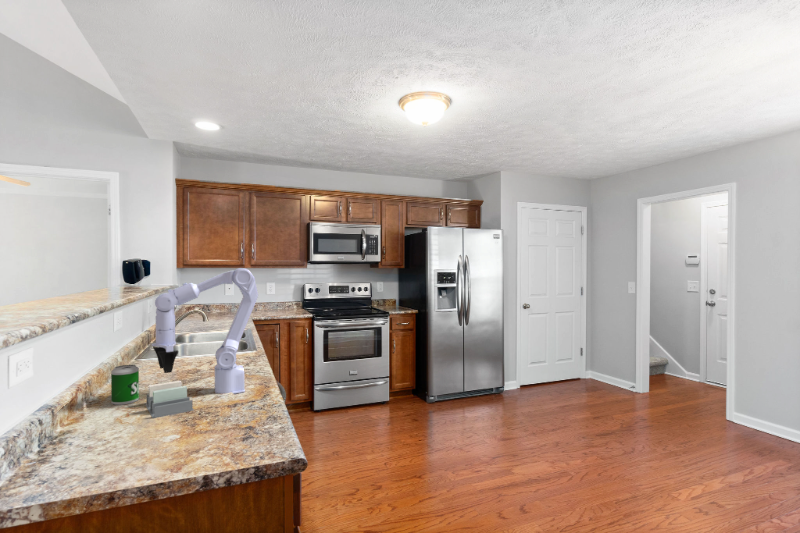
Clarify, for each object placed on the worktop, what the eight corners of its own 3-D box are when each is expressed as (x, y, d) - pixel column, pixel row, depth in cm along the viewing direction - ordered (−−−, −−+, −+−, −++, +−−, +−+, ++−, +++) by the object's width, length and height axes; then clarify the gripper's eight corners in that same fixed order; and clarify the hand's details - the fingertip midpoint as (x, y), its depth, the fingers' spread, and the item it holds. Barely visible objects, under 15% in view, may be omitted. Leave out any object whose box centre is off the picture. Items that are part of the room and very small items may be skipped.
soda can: (125, 408, 132) (125, 370, 132) (105, 406, 134) (105, 369, 134) (144, 400, 140) (144, 364, 140) (125, 399, 141) (124, 363, 141)
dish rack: (182, 399, 141) (182, 388, 141) (194, 412, 128) (194, 400, 128) (144, 406, 134) (144, 394, 134) (152, 421, 122) (152, 408, 122)
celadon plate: (185, 404, 133) (185, 385, 133) (187, 406, 132) (187, 387, 132) (152, 410, 128) (152, 391, 128) (154, 412, 126) (153, 392, 126)
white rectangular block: (180, 398, 139) (180, 380, 139) (181, 400, 138) (181, 381, 138) (148, 404, 134) (148, 385, 134) (149, 406, 132) (149, 386, 132)
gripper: (148, 327, 144) (148, 367, 144) (155, 333, 132) (155, 376, 132) (171, 325, 148) (171, 364, 148) (180, 331, 137) (180, 373, 137)
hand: (165, 370), depth 140 cm, fingers open, 7 cm apart
